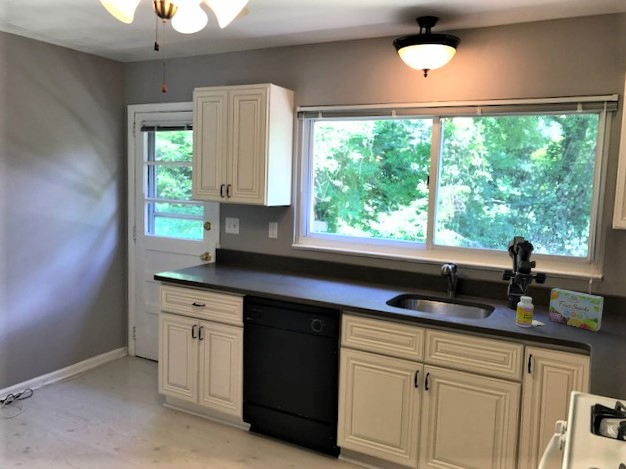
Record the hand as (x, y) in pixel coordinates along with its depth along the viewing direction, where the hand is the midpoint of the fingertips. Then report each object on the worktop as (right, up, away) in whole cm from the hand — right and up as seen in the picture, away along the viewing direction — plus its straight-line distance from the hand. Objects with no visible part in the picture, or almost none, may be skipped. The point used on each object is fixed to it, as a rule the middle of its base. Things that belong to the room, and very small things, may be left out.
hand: (524, 291), depth 248 cm
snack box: (+22, -15, -2) cm, 27 cm away
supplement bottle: (-3, -15, -7) cm, 16 cm away
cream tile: (+4, -14, -2) cm, 15 cm away
